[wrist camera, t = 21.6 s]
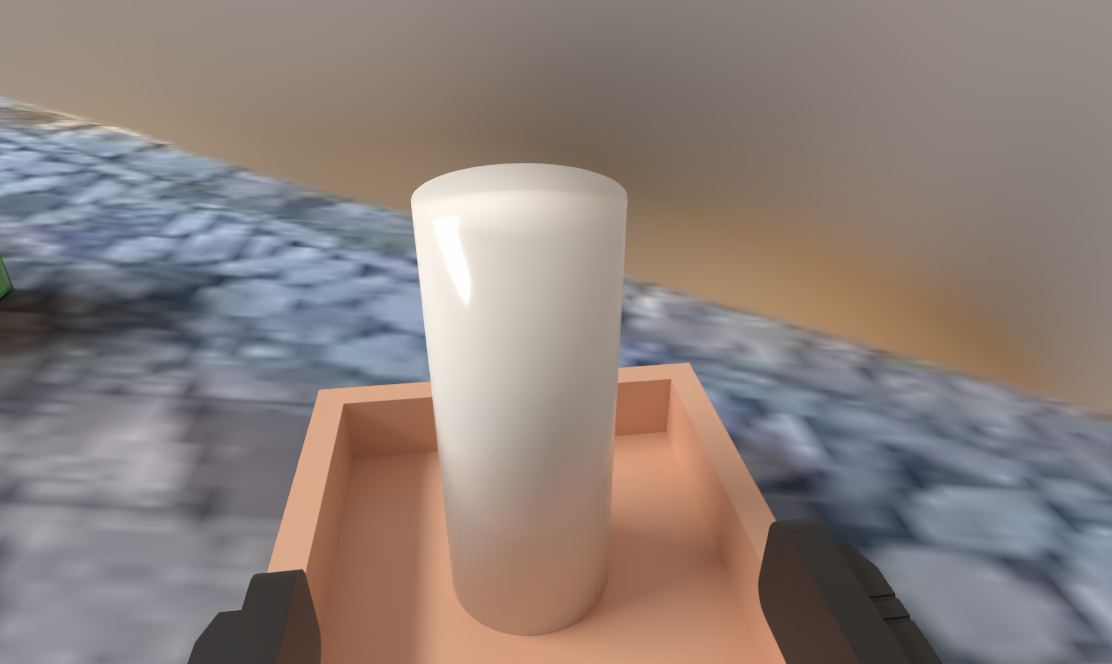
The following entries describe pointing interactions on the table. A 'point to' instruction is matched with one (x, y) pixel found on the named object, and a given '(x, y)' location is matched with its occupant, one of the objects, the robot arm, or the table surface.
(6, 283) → the chalk box
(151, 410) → the table surface
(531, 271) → the ceramic canister
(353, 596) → the terracotta tray
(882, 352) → the table surface
